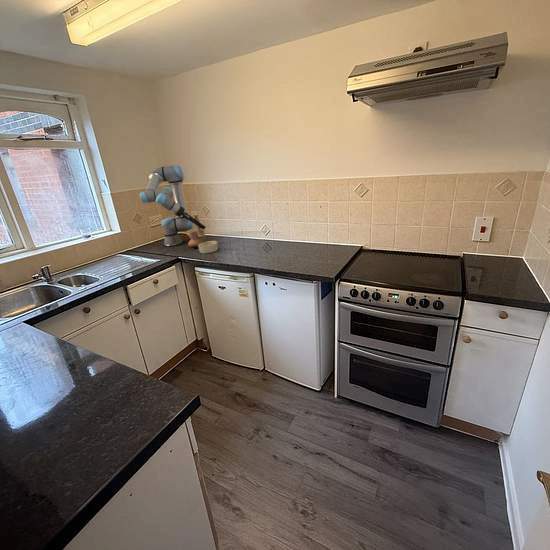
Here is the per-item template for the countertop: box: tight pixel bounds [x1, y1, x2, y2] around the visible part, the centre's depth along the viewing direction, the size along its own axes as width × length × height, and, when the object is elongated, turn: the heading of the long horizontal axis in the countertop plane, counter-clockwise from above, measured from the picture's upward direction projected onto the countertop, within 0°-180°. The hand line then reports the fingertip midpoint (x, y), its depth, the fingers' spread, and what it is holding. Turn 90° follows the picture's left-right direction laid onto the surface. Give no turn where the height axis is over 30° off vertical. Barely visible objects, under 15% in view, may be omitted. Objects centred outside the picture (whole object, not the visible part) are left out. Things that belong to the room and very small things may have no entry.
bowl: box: [197, 240, 219, 255], centre depth 231 cm, size 15×15×6 cm
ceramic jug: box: [186, 227, 207, 249], centre depth 246 cm, size 18×14×14 cm
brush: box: [193, 214, 206, 238], centre depth 225 cm, size 5×5×16 cm
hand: (203, 227), depth 227 cm, fingers closed on brush, 3 cm apart
